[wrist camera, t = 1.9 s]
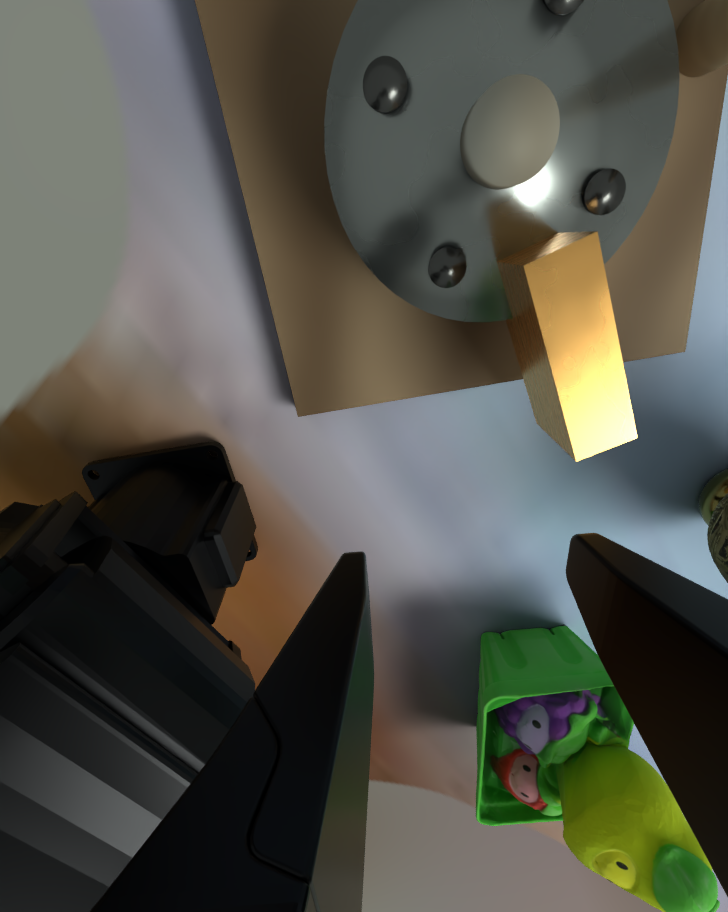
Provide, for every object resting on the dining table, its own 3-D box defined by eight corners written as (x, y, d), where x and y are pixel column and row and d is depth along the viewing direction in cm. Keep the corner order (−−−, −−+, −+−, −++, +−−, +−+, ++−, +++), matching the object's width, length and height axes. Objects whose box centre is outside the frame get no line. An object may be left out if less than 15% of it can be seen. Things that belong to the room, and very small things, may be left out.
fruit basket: (459, 617, 25) (532, 867, 15) (613, 604, 25) (790, 847, 15) (456, 739, 30) (510, 989, 20) (585, 728, 30) (705, 974, 20)
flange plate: (263, 39, 12) (235, -28, 9) (625, -180, 11) (735, -347, 8) (442, 462, 18) (460, 506, 15) (691, 360, 17) (768, 386, 14)
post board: (300, 408, 20) (287, 453, 15) (184, -68, 13) (108, -210, 9) (669, 346, 19) (759, 375, 15) (742, -190, 12) (941, -409, 8)
